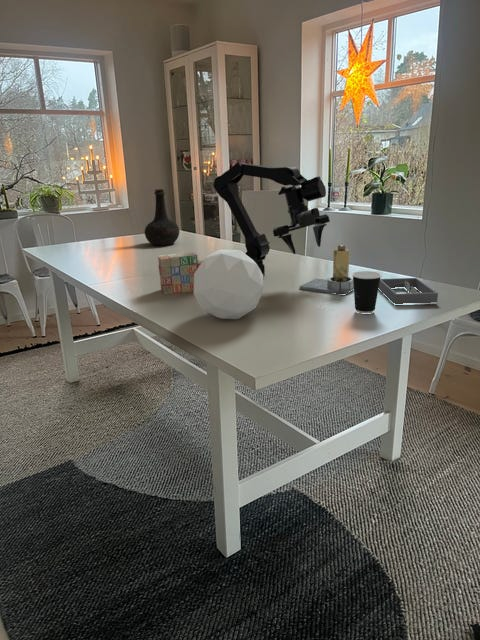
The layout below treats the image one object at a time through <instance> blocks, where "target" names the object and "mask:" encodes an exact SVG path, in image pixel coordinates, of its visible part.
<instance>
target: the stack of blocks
mask: <svg viewBox="0 0 480 640" xmlns="http://www.w3.org/2000/svg"><path fill="white" fill-rule="evenodd" d="M157 257H158V259H157V260H158V272H159V281H160V283H159V284H160V290H161V292H162V293H163V295H169V294H168V293H170V294H176V293H177V294H178V293H186V292H187V291H188V292H194V274H195V272H196V271H197V269H198V268H199V266H200V265H201V263H202V262H203V260H204V259H205V258H203V259H198V254H197V253H194V252H193V251H189V252H179V253H171V254H169V253H168V254H162V255H158V256H157ZM188 292H187V293H188Z"/></svg>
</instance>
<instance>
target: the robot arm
mask: <svg viewBox="0 0 480 640" xmlns="http://www.w3.org/2000/svg"><path fill="white" fill-rule="evenodd" d="M244 176H246V177H247V176H248V177H253V178H261V179H266V180H271V181H273V182H275V183H276V184H279V185H282V186H281V188H280V190H279V192H278V195H279V196H282V195H284V197H285V201H286V205H287V208H288V209H287V214H289V217H290V225H288V224H284V225H282V226H277V227H274V228H273V230H272V233H273V237H277V238H278V239H282V241H283V242H284V243H285V245H287V247H288V248H289V250H290V252H291V253H292V254H293V255H296V254H297V253H296V249H295V246H294V245H295V244H294V241H293V239H292V234H291V233H290V232H293V231H295V230H299V229H303V228H306V227H311V226H312V230H313V234H314V237H315V242H316V245H317V247H318V248H320V247H321V243H322V235H323V230H324V228H325V227H326V226H327V225H328V224H327V223H330V222H331V219H330V216H329V215H328V214H326V213H325V214H320V209H319V208H318V207H314V208H313V207H312V208H311V209H310V210H309V208H308V206H307V205H306V202H305V200H306V201H307V202H311V201H315V200H319V199H322V198H325V197H326V195H327V189H326V188H327V187H326V186H325V184H324V182H323V180H322V178H321V176H315V177H312V178H311V179H307V178H305V177H304V175H302V174H301V171H300V169H299V168H298V167H296V166H281V167H272V166H266V165H260V164H253V163H252V164H251V163H246V162H236V163H235V164H233V166H232V167H230V168H229V169H228V170H226V171H224V172H223V173H222V174H221V175H218V176H217V177H215V179H214V181H213V189H214V190H215V192H216V193H217V195H218V196H219V197H220V198H221V199H223V201H225V202H226V204H227V206H228V207H229V209H230V211H231V214H232V215H233V218H234V219H235V222H236V223H237V225H238V226H239V228H240V231H241V233H242V235H243V237H244V243H245V244H244V245H245V249H246V252H244V253H245V254H246V255H247V256H249V257H250V258H251V259H252V260H254V262H255V263H256V264H257V265H258V267H259V269H260V270H261V272H262V274H263V280H264V279H265V278H264V277H265V274H266V273H265V269H266V267H265V264H264V261H263V260H265V259H266V257H267V255H268V254H269V252H270V249H271V247H270V242H269V240H268V239H267V236H266V234H265V233H262V234H260V233H259V232H258V231H257V229H256V227H255V225H254V223H253V222H252V219H251V217H250V216H249V214H248V212H247V210H246V208H245V206H244V204H243V202H242V200H241V198H240V194H239V185H238V184H239V182H240V181H242V179H243V177H244ZM286 186H289V187H286ZM296 186H300V187H296ZM313 225H314V226H313Z"/></svg>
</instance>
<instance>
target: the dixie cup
mask: <svg viewBox="0 0 480 640" xmlns="http://www.w3.org/2000/svg"><path fill="white" fill-rule="evenodd" d="M351 276H352V278H353V285H354V290H353V297H354V309H355V312H356V311H357V312H359V313H372V312H373V311H375V309H376V304H377V300H378V293H379V290H378V288H379V283H380V279H381V278H382V276H383V275H382V273H380V272H378V271H370V270H361V271H360V270H359V271H354V272H352V273H351ZM373 313H374V312H373Z"/></svg>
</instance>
